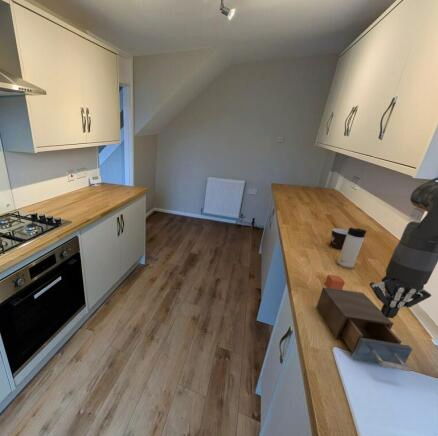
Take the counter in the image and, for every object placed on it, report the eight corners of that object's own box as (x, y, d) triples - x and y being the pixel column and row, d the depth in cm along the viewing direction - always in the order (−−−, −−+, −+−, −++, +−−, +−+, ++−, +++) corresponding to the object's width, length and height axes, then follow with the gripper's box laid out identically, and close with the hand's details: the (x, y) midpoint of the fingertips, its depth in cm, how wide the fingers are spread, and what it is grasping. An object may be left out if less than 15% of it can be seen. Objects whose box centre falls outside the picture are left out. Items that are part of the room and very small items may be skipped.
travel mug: (340, 267, 115) (353, 230, 108) (335, 261, 121) (347, 225, 114) (355, 270, 113) (370, 232, 106) (350, 263, 119) (363, 226, 112)
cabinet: (382, 346, 73) (393, 323, 70) (336, 338, 75) (344, 316, 72) (355, 313, 86) (363, 292, 83) (316, 307, 89) (322, 287, 86)
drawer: (415, 385, 61) (427, 365, 58) (364, 375, 63) (373, 355, 60) (370, 331, 77) (378, 313, 75) (331, 324, 80) (337, 307, 77)
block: (336, 284, 102) (339, 275, 101) (341, 290, 98) (344, 282, 97) (324, 283, 103) (327, 274, 102) (329, 289, 99) (332, 280, 98)
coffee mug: (327, 242, 141) (332, 227, 138) (345, 246, 137) (351, 230, 133) (327, 249, 132) (332, 233, 129) (347, 254, 128) (352, 237, 124)
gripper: (392, 266, 58) (368, 322, 64) (458, 273, 55) (427, 330, 61) (372, 252, 65) (352, 303, 71) (430, 257, 62) (404, 310, 68)
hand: (387, 315), depth 66 cm, fingers closed
